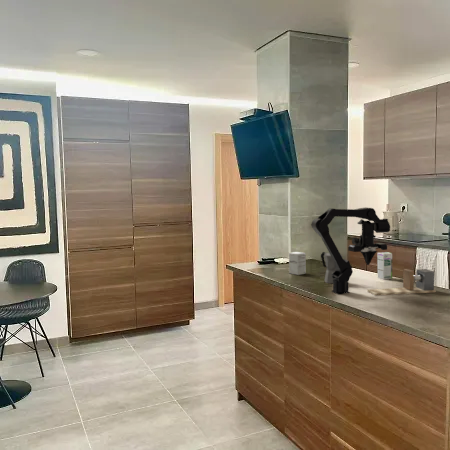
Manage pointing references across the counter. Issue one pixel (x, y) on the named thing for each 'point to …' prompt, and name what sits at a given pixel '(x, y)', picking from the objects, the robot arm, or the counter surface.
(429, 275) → the bearing block
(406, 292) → the birch base plate
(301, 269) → the supplement box
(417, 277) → the wooden block with shaft
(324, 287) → the counter surface
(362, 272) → the counter surface
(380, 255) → the syrup box
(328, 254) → the coffeepot
